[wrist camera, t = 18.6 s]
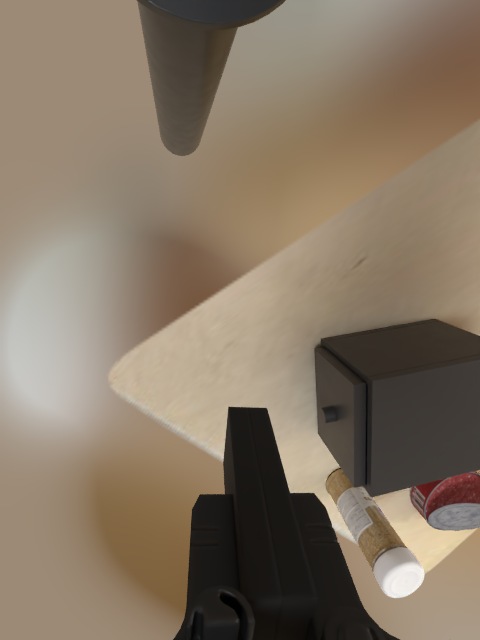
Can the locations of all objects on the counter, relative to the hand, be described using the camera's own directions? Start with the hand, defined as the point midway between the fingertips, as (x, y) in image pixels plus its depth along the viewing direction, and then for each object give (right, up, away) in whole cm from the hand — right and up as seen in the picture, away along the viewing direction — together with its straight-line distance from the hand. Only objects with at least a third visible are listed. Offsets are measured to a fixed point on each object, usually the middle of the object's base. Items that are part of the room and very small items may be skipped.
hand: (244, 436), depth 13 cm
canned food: (+29, -20, +36) cm, 50 cm away
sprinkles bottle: (+13, -17, +32) cm, 38 cm away
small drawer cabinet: (+17, -2, +28) cm, 33 cm away
